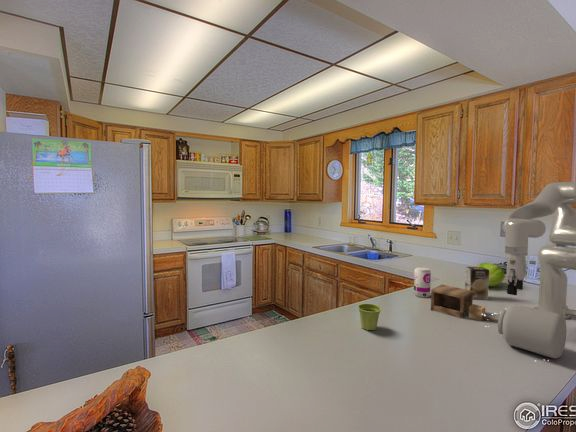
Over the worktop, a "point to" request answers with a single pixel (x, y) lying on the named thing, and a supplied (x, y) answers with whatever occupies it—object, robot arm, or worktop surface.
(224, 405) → the worktop surface
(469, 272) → the coffee box
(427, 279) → the supplement can
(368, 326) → the plant pot
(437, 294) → the open wooden crate
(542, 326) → the jar
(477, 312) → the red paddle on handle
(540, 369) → the worktop surface
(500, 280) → the lettuce
